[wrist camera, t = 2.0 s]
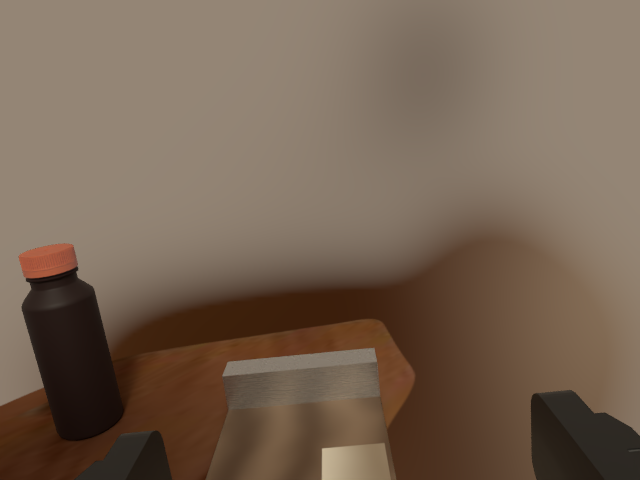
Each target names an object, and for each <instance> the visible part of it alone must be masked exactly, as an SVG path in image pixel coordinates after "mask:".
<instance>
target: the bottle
mask: <svg viewBox="0 0 640 480" xmlns="http://www.w3.org/2000/svg"><path fill="white" fill-rule="evenodd" d="M19 260H20V263H21V267H22V271H23V274H24V277H26V281H27V282H30V285H31V291H30V292H29V294H28V295H27V297H26V298H25V300H24V302H23V304H22V312H23V315H24V319H25V322H26V325H27V329H28V333H29V336H30V339H31V343H32V346H33V350H34V353H35V357H36V360H37V364H38V367H39V371H40V374H41V378H42V381H43V384H44V388H45V392H46V395H47V399H48V402H49V406H50V409H51V413H52V416H53V419H54V423H55V426H56V430H57V432H58V434H59V435H60V436H61V437H62V438H64V439H67V440H81V439H86V438H90V437H92V436H95V435H98V434H100V433H102V432H104V431H106V430H107V429H109V428H110V427H112V426H113V425H114V424H115V423H116V422H117V421H118V420H119V419H120V418H121V415H122V413H123V406H122V401H121V397H120V393H119V389H118V385H117V381H116V377H115V373H114V369H113V365H112V361H111V356H110V352H109V348H108V344H107V340H106V336H105V332H104V328H103V324H102V320H101V316H100V312H99V307H98V303H97V299H96V295H95V291H94V288H93V287H92V286H90V285H89V284H87V283H86V282H84V281H82V280H80V279H79V278H78V277H77V273H76V271H77V270H78V267H77V265H78V263H77V259H76V255H75V251H74V247H73V245H72V244H55V245H49V246H44V247H40V248H35V249H32V250H29V251H26V252H24V253H22V254H21V255H19Z"/></svg>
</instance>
